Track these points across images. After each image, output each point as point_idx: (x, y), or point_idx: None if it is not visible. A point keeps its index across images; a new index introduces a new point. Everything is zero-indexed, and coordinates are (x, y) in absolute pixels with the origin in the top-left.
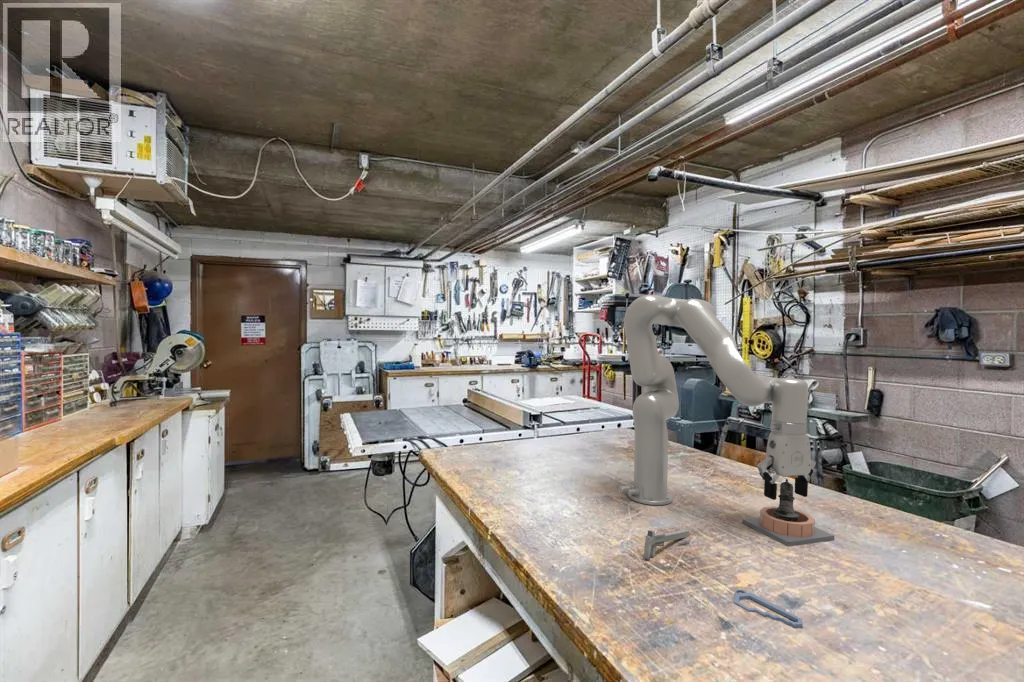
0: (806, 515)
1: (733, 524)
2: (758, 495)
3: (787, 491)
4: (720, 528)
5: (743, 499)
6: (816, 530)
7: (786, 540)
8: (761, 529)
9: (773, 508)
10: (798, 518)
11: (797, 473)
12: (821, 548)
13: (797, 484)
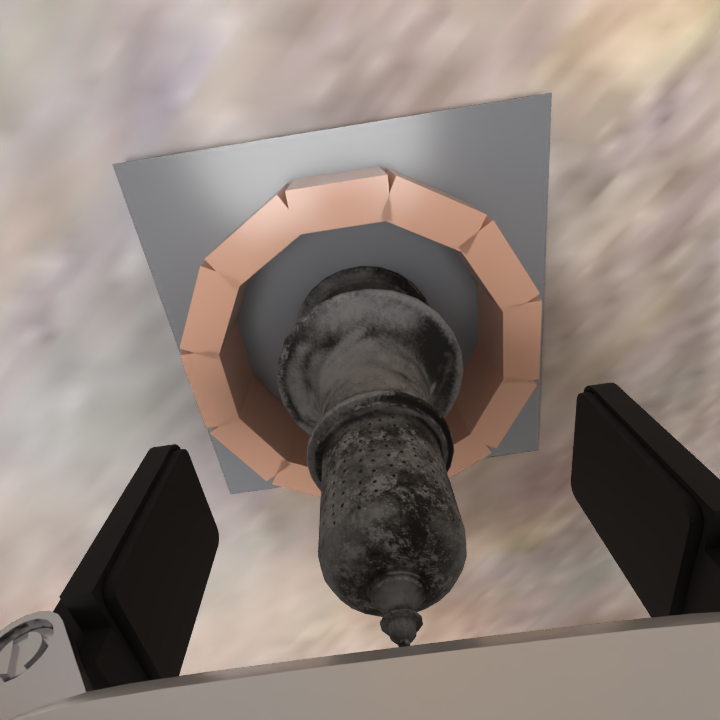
0: (212, 348)
1: None
2: None
3: (427, 466)
4: (710, 382)
5: (299, 657)
6: (191, 262)
7: (542, 121)
8: (541, 319)
9: None
10: (243, 381)
11: (376, 705)
12: (323, 30)
13: (183, 600)
